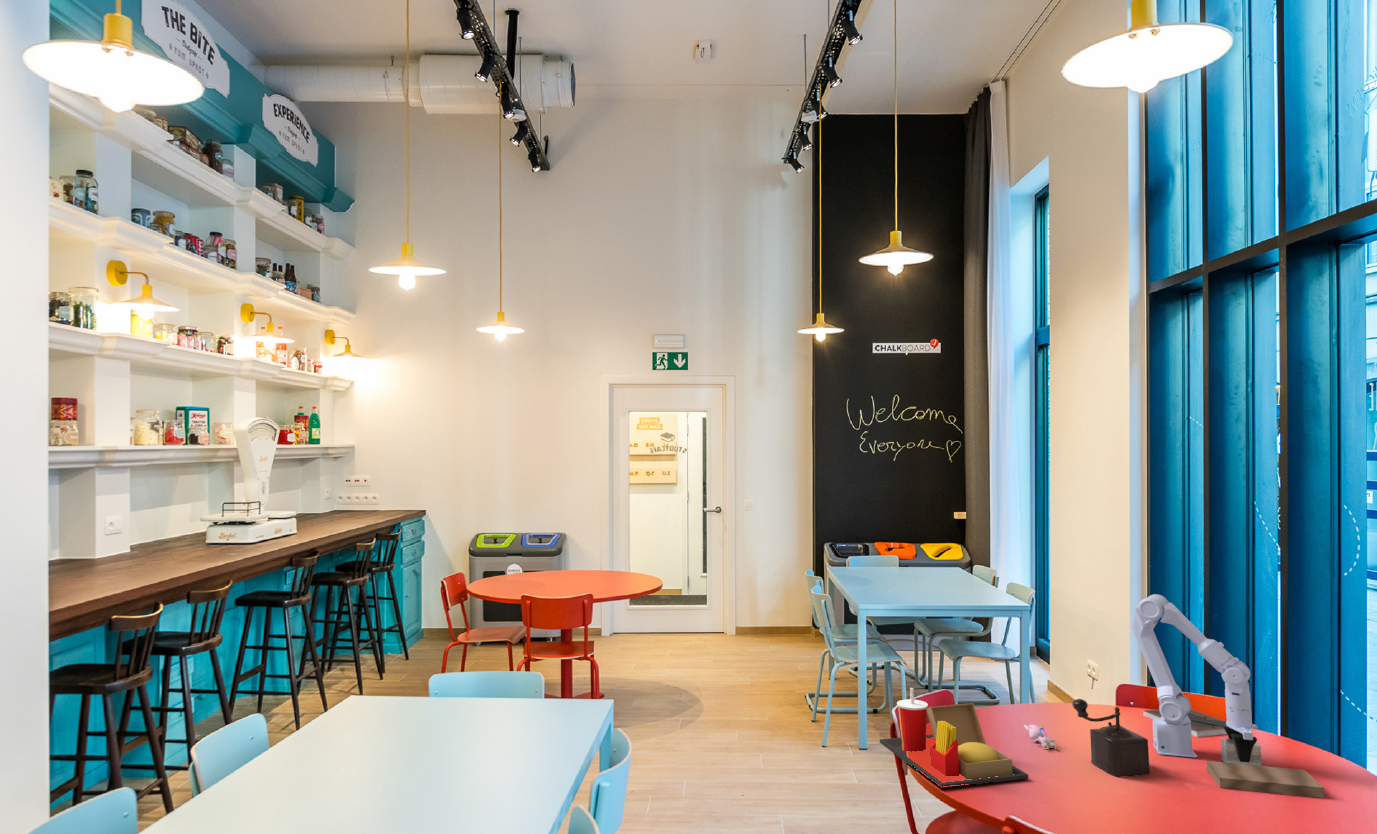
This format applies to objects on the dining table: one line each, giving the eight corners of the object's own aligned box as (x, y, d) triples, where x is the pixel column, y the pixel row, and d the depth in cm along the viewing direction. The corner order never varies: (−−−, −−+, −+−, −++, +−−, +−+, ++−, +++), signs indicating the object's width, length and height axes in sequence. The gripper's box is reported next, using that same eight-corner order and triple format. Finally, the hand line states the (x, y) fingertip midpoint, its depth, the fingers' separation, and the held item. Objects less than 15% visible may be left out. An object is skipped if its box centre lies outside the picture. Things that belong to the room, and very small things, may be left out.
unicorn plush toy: (1062, 755, 228) (1036, 730, 243) (1063, 736, 227) (1037, 711, 242) (1041, 756, 228) (1016, 731, 243) (1042, 737, 227) (1017, 712, 242)
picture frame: (1243, 734, 240) (1186, 713, 262) (1242, 726, 241) (1185, 706, 262) (1197, 739, 237) (1143, 717, 258) (1196, 731, 237) (1142, 709, 259)
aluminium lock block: (1227, 765, 214) (1225, 743, 214) (1222, 759, 218) (1220, 737, 219) (1262, 769, 211) (1260, 746, 212) (1256, 763, 216) (1254, 740, 216)
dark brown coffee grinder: (1123, 759, 221) (1119, 694, 222) (1151, 774, 210) (1147, 705, 211) (1072, 763, 218) (1068, 697, 220) (1097, 778, 207) (1094, 709, 209)
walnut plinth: (1220, 787, 200) (1219, 777, 200) (1206, 770, 212) (1206, 760, 212) (1324, 798, 193) (1323, 787, 193) (1305, 779, 204) (1304, 769, 204)
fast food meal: (941, 792, 202) (938, 719, 203) (879, 746, 236) (877, 683, 237) (1028, 782, 207) (1025, 710, 208) (956, 738, 241) (953, 677, 243)
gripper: (1264, 716, 208) (1268, 769, 207) (1246, 701, 221) (1249, 750, 220) (1233, 714, 210) (1236, 766, 209) (1217, 699, 224) (1220, 748, 223)
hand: (1241, 758), depth 215 cm, fingers closed on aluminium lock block, 4 cm apart
